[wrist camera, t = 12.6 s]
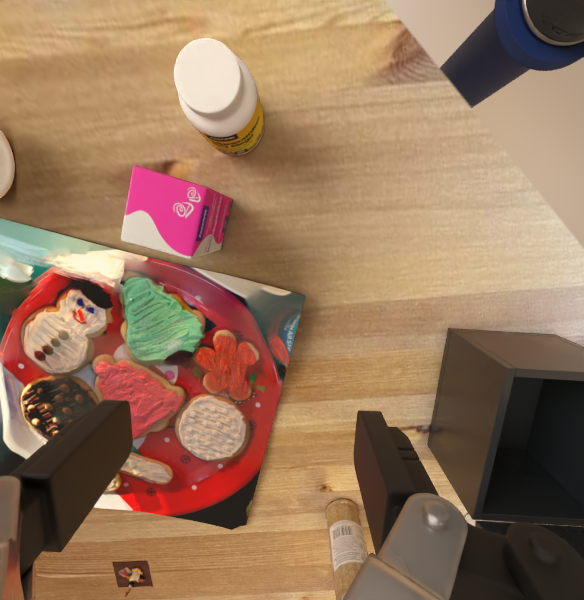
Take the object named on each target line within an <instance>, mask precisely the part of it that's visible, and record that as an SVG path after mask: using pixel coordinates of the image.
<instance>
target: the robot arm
mask: <svg viewBox="0 0 584 600" xmlns="http://www.w3.org/2000/svg"><path fill="white" fill-rule="evenodd" d="M519 4H520V12H521V16H522V19H523V22H524V24H525V26H526V28H527V29H528V31H529V32H530V33H531V35H532V36H533V37H534V38H535V39H537V40H538V41H539V42H541V43H543V44H545V45H548V46H551V47H559V48H563V47H571V46H574V45H577V44H580V43H582V42H584V0H519ZM132 445H133V434H132V422H131V410H130V404H129V402H128V401H126V400H103V401H101V402H100V403H99V404H98V405H97V406H96V407H95V408H94V409H92V410H91V411H90V412H89V413H88V414H84V415H82V416H80V417H78V418H76V419H75V420H73V421H71V422H69V423H68V424H66V425H65V426H64V427H63V428H62V429H61V430H60V431H58V432H57V433H56V436H55V435H54V436H53V437H52V438H50V439H49V440H48V441H47V442H46V444H45V445H42V446H41V447H40V448H39V449H38V450H37V451H36V452H34V453H33V454H32V455H31V456H30V457H29V458H27V459H26V460H25V461H24V462H23V463H22V464H21V465H19V466H18V467H17V468H16V469H15V470H14V471H13V472H11V473H10V474H9V475H8V476H0V600H35V583H36V568H35V562H34V561H35V560H36V558H37V557H38V556H39V554H40V553H41V552H42V551H48V552H61V551H62V550H63V549H64V547H65V546H66V545H67V543H68V542H69V540H70V539H71V538H72V536H73V535H74V533H75V532H76V531H77V529H78V528H79V526H80V525H81V524H82V522H83V521H84V519H85V518H86V517H87V515H88V514H89V512H90V511H91V510H92V508H93V507H94V505H95V504H96V503H97V501H98V500H99V498H100V497H101V496H102V494H103V493H104V492H105V490H106V489H107V487H108V486H109V485H110V483H111V482H112V480H113V479H114V478H115V476H116V475H117V473H118V472H119V471H120V469H121V468H122V466H123V465H124V464H125V462H126V461H127V459H128V458H129V456H130V453H131V450H132ZM354 465H355V471H356V475H357V479H358V483H359V487H360V491H361V495H362V500H363V504H364V508H365V512H366V516H367V520H368V524H369V528H370V533H371V537H372V541H373V545H374V549H375V553H376V555H375V554H373V553H370V554H369V555H368V556H367V558H366V559H365V561H364V562H363V564H362V566H361V568H360V570H359V571H358V573H357V575H356V577H355V578H354V580H353V582H352V584H351V585H350V587H349V589H348V591H347V592H346V594H345V596H344V598H343V600H584V560H583V559H582V557H581V556H580V555H579V554H578V553H577V551H576V550H575V549H574V548H573V547H572V546H571V545H570V544H569V543H568V542H566V541H565V540H564V539H563V538H561V537H560V536H558V535H557V534H555V533H554V532H552V531H550V530H548V529H546V528H544V527H542V526H539V525H537V524H533V523H529V522H516V523H513V524H511V525H510V526H509V528H508V530H507V535H506V536H504V535H501V534H498V533H495V532H491V531H488V530H485V529H482V528H479V527H476V526H473V525H471V524H469V523H467V522H466V520H465V518H464V516H463V515H462V513H461V512H460V511H459V510H458V509H457V507H455V506H454V505H453V504H452V503H450V502H449V501H447V500H446V499H444V498H442V497H440V496H439V495H438V493H437V491H436V489H435V487H434V485H433V483H432V482H431V480H430V478H429V476H428V474H427V472H426V470H425V468H424V466H423V465H422V463H421V461H419V457H418V455H417V453H416V451H414V448H413V446H412V444H411V442H410V440H409V438H408V437H407V436H406V435H405V434H404V433H403V432H402V431H401V430H399V429H398V428H397V427H388V426H387V424H386V422H385V420H384V417H383V415H382V413H381V412H380V411H358V414H357V422H356V433H355V444H354Z"/></svg>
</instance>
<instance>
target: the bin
mask: <svg viewBox="0 0 584 600" xmlns="http://www.w3.org/2000/svg"><path fill="white" fill-rule="evenodd" d="M428 446H429V448H430V450H431V451H432V453H433V455H434V456H435V458H436V460H437V461H438V463H439V465H440V466H441V468H442V470H443V471H444V473H445V475H446V476H447V478H448V480H449V482H450V483H451V485H452V487H453V488H454V490H455V492H456V493H457V495H458V497H459V498H460V500H461V502H462V503H463V505H464V507H465V508H466V510H467V512H468V513H469V515H470V517H471V518H472V520H485V521H501V522H529V523H534V524H551V525H567V526H584V347H583V346H581V345H579V344H576V343H574V342H572V341H569V340H567V339H564V338H562V337H560V336H557V335H550V334H534V333H518V332H502V331H485V330H469V329H453V328H448V333H447V338H446V344H445V349H444V355H443V361H442V366H441V372H440V378H439V383H438V389H437V394H436V400H435V406H434V411H433V417H432V422H431V428H430V434H429V439H428Z"/></svg>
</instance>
